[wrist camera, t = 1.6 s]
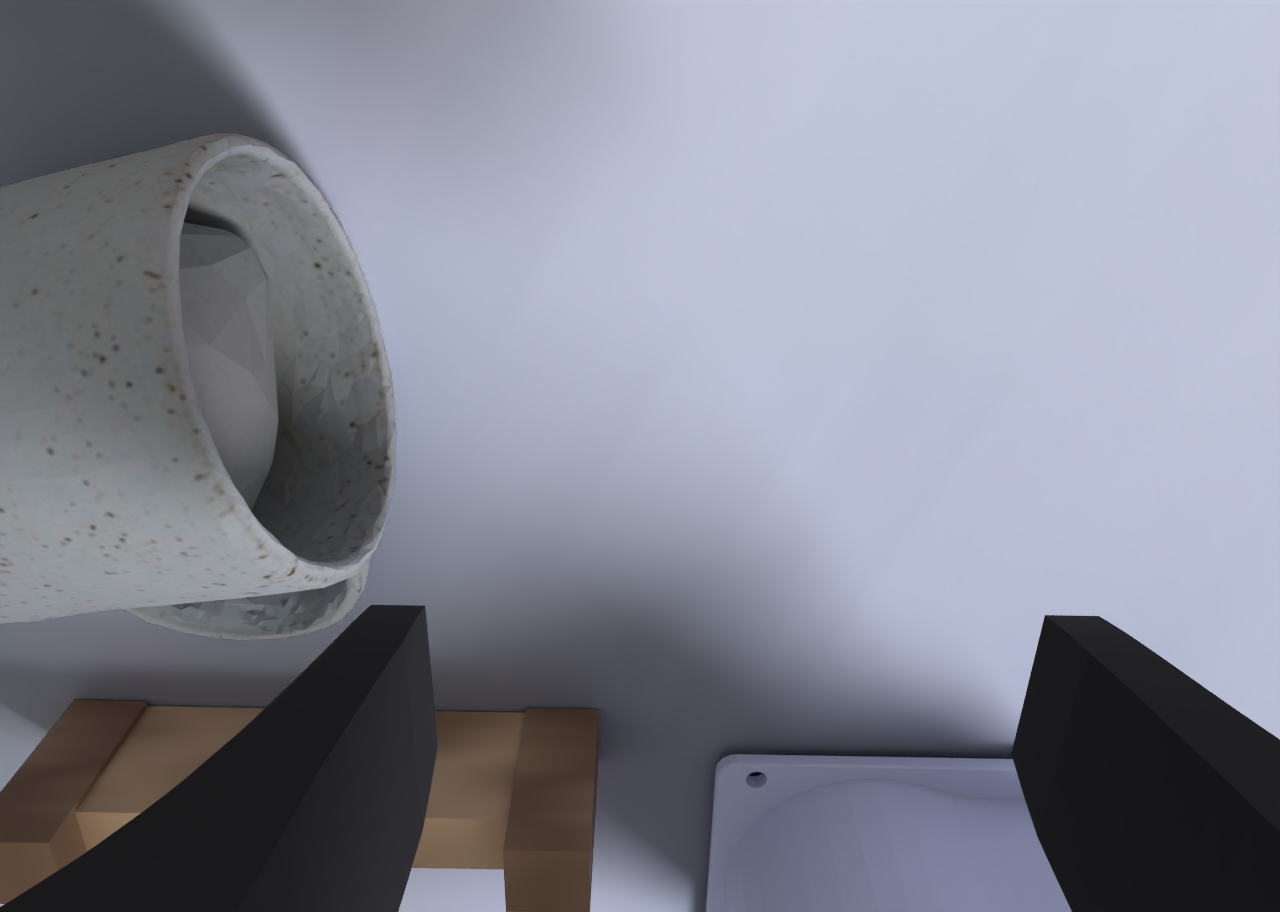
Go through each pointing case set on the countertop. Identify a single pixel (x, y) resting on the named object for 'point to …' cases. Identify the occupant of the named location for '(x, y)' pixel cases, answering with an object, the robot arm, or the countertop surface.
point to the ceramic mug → (188, 395)
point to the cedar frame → (187, 736)
